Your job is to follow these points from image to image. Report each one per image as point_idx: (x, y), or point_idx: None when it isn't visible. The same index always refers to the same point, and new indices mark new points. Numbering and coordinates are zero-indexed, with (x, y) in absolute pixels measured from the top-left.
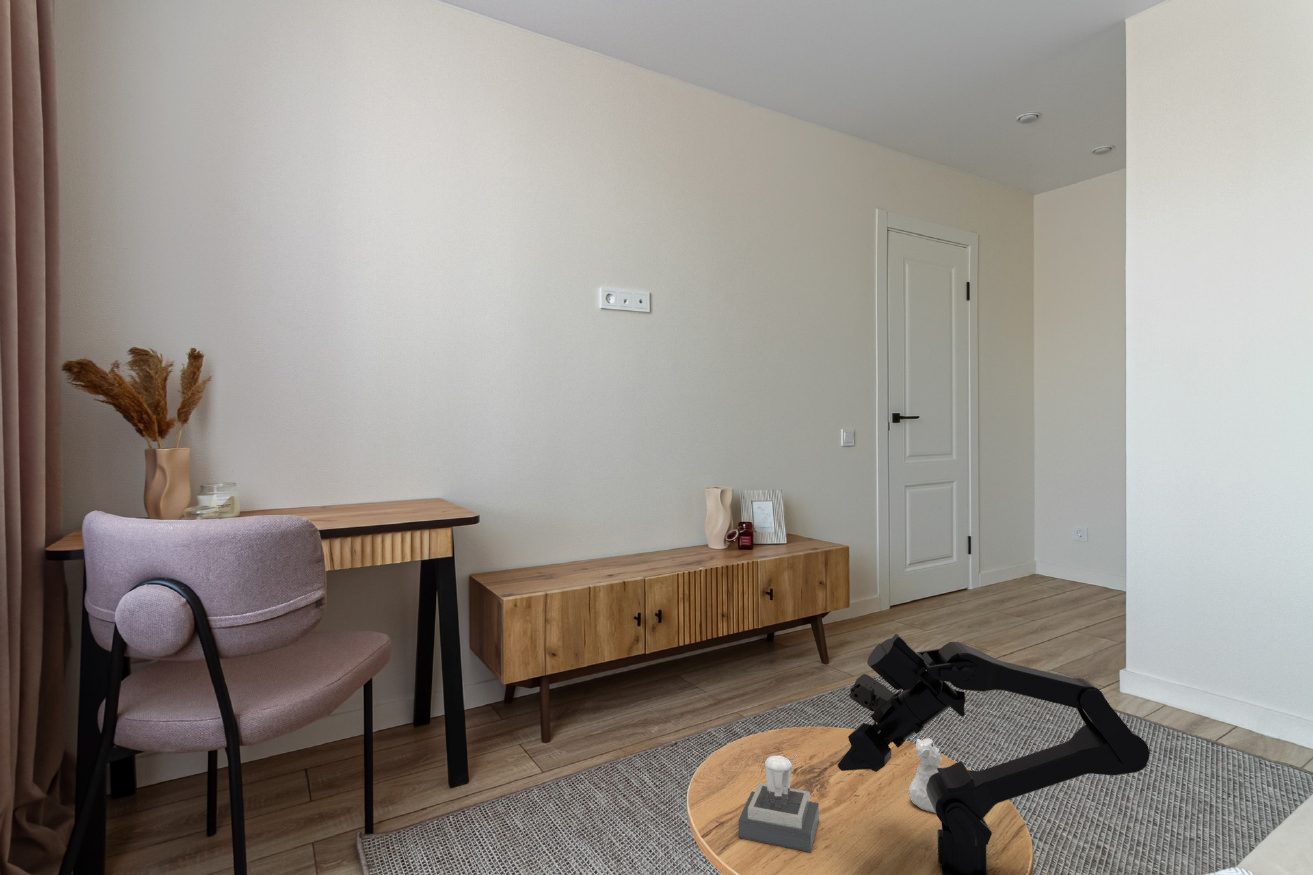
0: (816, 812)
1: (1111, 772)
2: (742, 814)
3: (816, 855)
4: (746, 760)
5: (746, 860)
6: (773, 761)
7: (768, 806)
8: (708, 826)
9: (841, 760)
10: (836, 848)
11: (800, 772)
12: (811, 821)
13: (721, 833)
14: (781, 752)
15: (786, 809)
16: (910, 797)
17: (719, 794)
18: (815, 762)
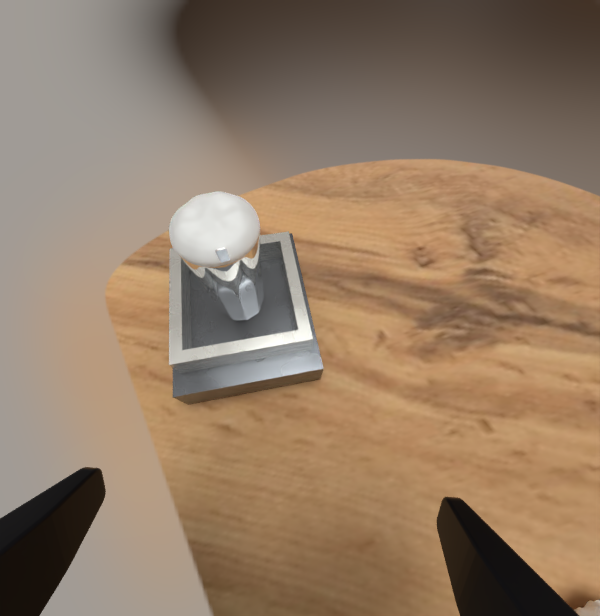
0: (280, 377)
1: None
2: None
3: (182, 419)
4: (444, 192)
5: (120, 306)
6: (184, 208)
7: None
8: None
9: (10, 515)
10: (228, 453)
11: (481, 283)
12: (229, 380)
13: None
14: (526, 228)
15: (229, 315)
16: (578, 613)
17: (305, 200)
18: (548, 295)
